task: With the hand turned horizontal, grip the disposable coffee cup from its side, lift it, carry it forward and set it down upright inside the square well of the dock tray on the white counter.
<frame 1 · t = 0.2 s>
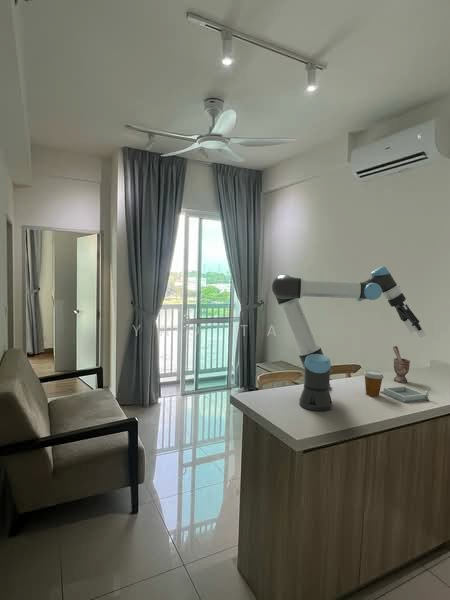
hand: (418, 334, 176), 35 cm above the countertop, tool tilted 35°, fingers open, 13 cm apart
dock tray: (404, 396, 191), on the countertop
disposable coffee cup: (372, 395, 192), on the countertop
mortar and pestle: (397, 380, 219), on the countertop
cup and saucer: (318, 387, 203), on the countertop
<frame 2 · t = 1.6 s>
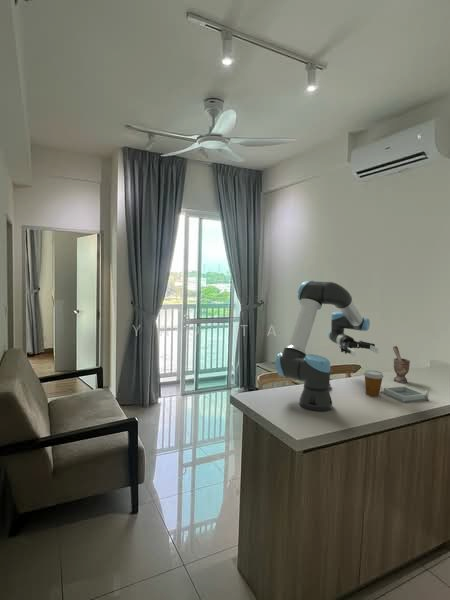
hand: (366, 352, 196), 21 cm above the countertop, tool horizontal, fingers open, 13 cm apart
nothing on the countertop moved.
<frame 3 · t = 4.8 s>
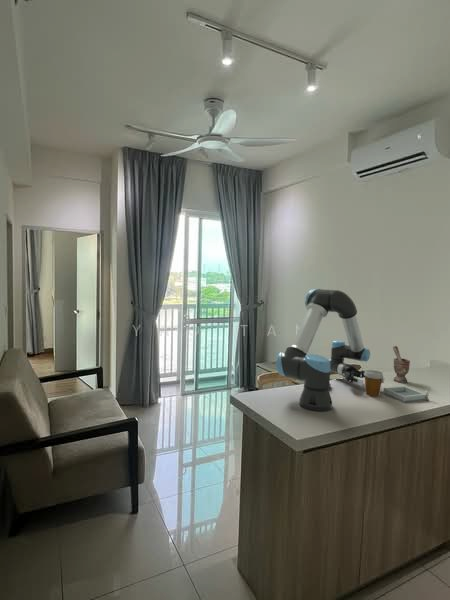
hand: (373, 381, 192), 7 cm above the countertop, tool horizontal, fingers open, 13 cm apart
nothing on the countertop moved.
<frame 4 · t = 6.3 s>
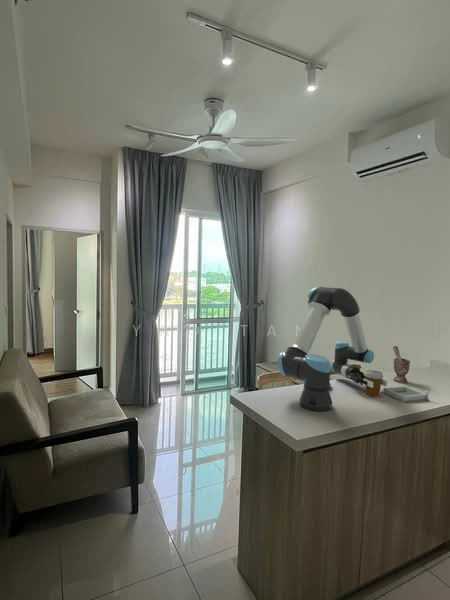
hand: (379, 384, 187), 7 cm above the countertop, tool horizontal, fingers closed on disposable coffee cup, 8 cm apart
disposable coffee cup: (372, 395, 192), on the countertop, touching gripper
everything else where it was.
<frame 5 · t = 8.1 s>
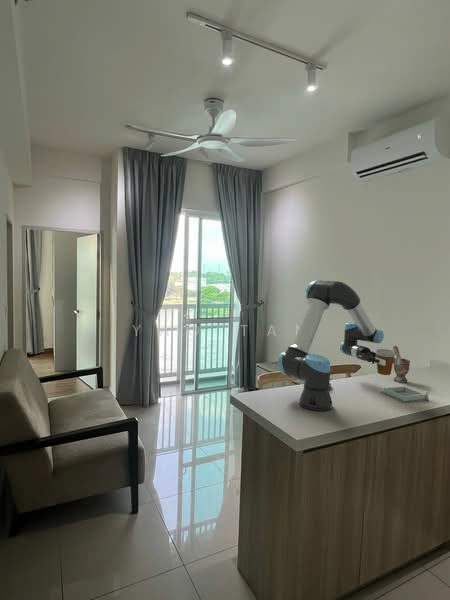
hand: (391, 362, 186), 18 cm above the countertop, tool horizontal, fingers closed on disposable coffee cup, 8 cm apart
disposable coffee cup: (384, 373, 191), point 11 cm above the countertop, touching gripper
everything else where it was.
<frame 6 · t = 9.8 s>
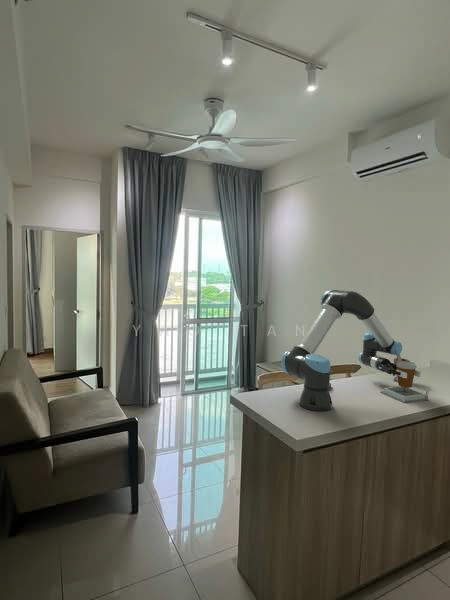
hand: (413, 375, 185), 13 cm above the countertop, tool horizontal, fingers closed on disposable coffee cup, 8 cm apart
disposable coffee cup: (405, 386, 190), point 5 cm above the countertop, touching gripper
everything else where it was.
when the fingers open (8 cm above the countertop, at t = 11.0 s): disposable coffee cup moves 3 cm, resting on dock tray.
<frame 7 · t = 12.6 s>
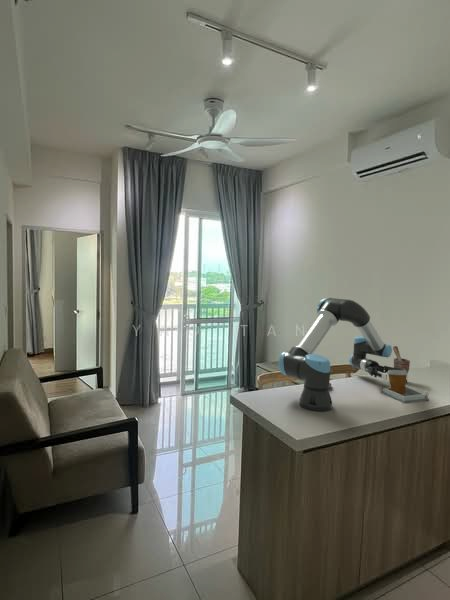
hand: (396, 376, 196), 9 cm above the countertop, tool horizontal, fingers open, 13 cm apart
disposable coffee cup: (398, 394, 191), point 1 cm above the countertop, touching dock tray
everything else where it was.
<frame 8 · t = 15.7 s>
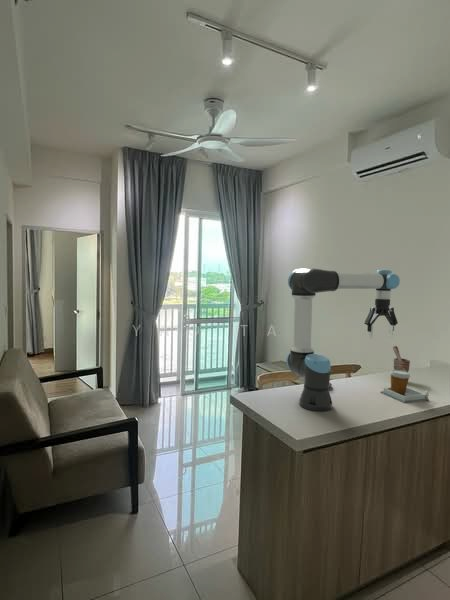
hand: (380, 337, 200), 29 cm above the countertop, tool pointing down, fingers open, 13 cm apart
at the end: disposable coffee cup inside the target area on the dock tray (3.2 cm from its centre), point 0.5 cm above the dock tray's base; disposable coffee cup tilted 2°; the gripper is holding nothing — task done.
